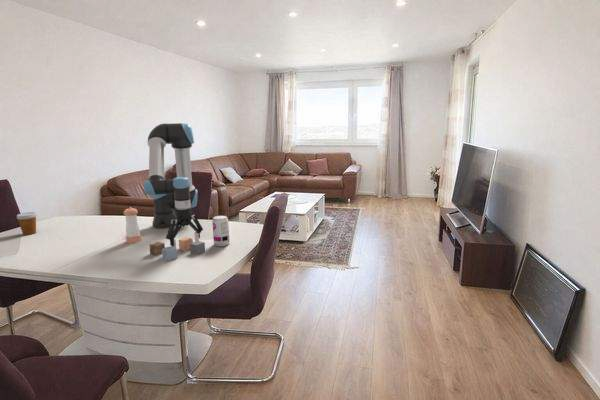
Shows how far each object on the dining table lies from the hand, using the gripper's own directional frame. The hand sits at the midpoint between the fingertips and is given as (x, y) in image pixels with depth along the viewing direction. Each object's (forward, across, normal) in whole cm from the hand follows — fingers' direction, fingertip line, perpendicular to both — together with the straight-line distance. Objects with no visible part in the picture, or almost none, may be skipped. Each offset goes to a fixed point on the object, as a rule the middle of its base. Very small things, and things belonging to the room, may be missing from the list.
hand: (186, 248), depth 182 cm
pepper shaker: (0, -11, +33) cm, 35 cm away
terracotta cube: (0, 0, 0) cm, 0 cm away
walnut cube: (0, -13, +5) cm, 14 cm away
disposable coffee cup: (0, -42, +97) cm, 106 cm away
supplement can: (0, +15, -10) cm, 18 cm away
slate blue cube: (0, -13, -6) cm, 14 cm away
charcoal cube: (0, 0, -10) cm, 10 cm away
